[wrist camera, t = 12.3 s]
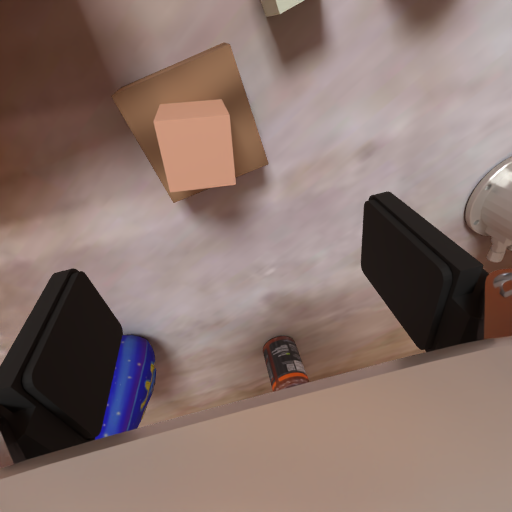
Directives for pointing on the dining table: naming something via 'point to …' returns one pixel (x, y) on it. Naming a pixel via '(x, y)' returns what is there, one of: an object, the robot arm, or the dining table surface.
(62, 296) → the robot arm
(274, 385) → the supplement bottle
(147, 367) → the ornament
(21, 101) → the dining table surface
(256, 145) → the walnut base block
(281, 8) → the sage cube
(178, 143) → the terracotta block
